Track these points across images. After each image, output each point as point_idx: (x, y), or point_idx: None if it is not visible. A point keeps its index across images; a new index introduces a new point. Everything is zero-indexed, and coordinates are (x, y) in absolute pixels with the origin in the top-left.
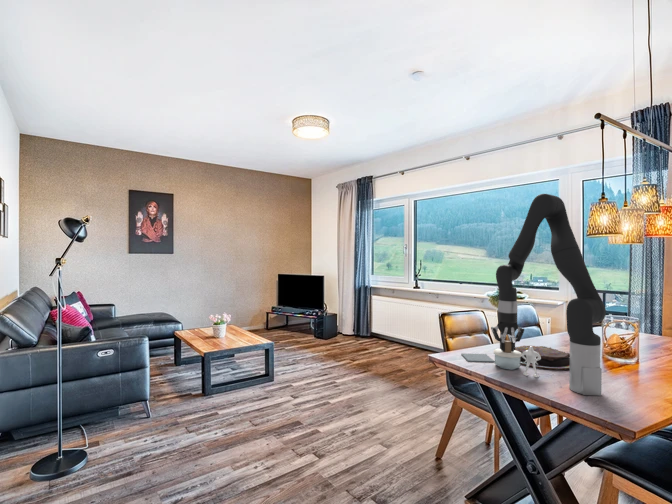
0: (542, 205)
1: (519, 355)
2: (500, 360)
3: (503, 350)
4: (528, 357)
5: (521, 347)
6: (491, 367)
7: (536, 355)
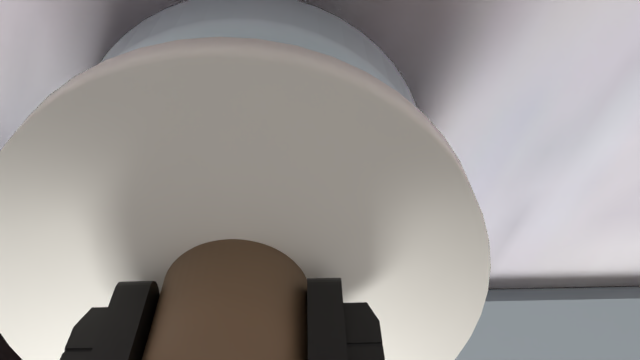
0: None
1: (37, 110)
2: None
3: (332, 283)
4: None
5: None
6: (488, 107)
7: None
